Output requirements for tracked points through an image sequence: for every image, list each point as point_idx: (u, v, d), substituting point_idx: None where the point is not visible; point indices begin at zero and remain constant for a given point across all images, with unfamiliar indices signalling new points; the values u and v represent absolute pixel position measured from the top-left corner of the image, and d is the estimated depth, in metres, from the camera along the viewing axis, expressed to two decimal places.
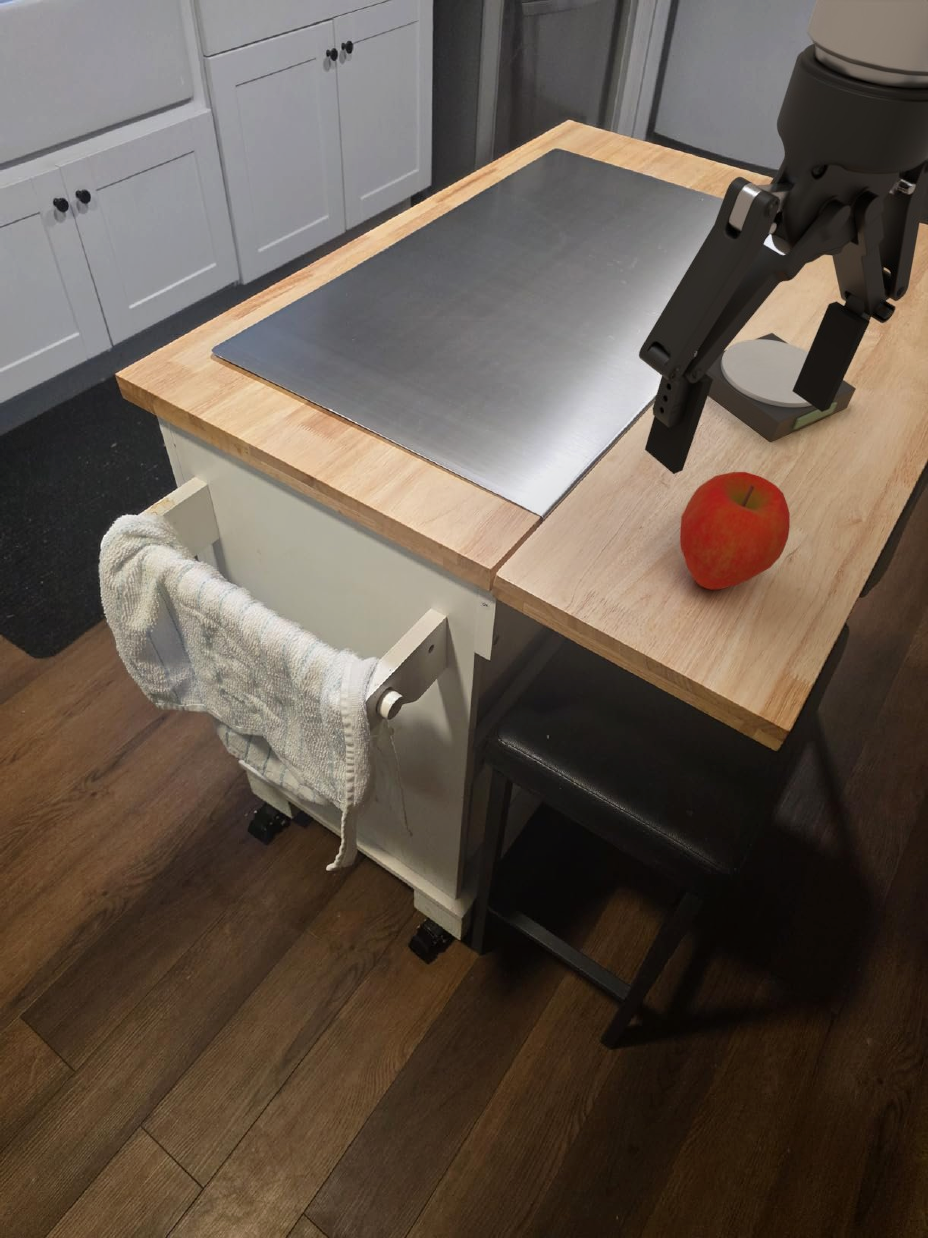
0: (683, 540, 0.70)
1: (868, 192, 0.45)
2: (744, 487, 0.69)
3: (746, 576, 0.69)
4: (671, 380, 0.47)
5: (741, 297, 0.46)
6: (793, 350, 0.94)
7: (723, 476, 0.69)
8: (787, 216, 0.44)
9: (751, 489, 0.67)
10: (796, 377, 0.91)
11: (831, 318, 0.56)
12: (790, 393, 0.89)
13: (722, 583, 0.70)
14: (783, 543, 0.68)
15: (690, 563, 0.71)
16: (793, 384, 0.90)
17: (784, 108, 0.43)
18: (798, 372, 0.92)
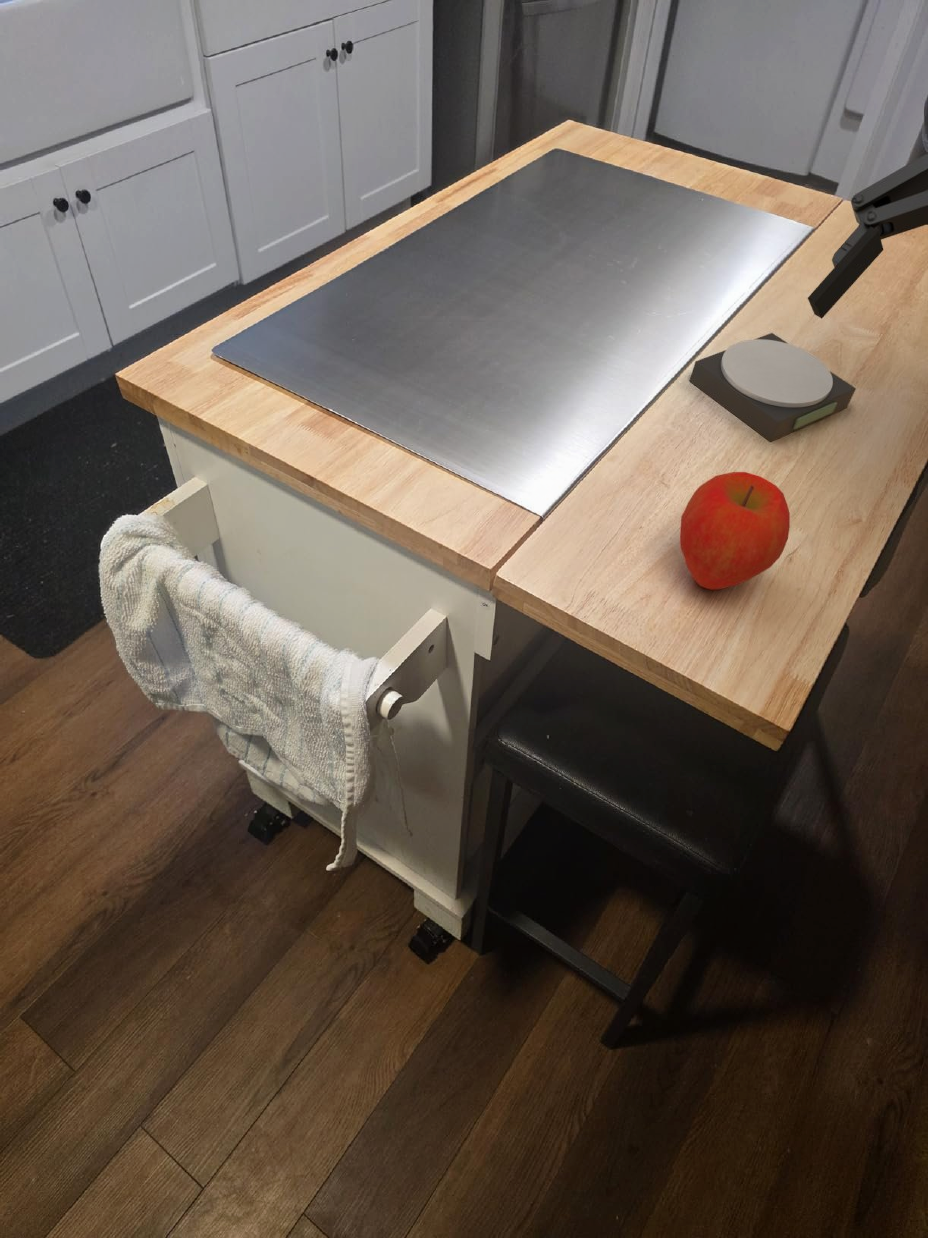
0: (683, 540, 0.70)
1: None
2: (744, 487, 0.69)
3: (746, 576, 0.69)
4: (852, 202, 0.67)
5: None
6: (793, 350, 0.94)
7: (723, 476, 0.69)
8: None
9: (751, 489, 0.67)
10: (796, 377, 0.91)
11: None
12: (790, 393, 0.89)
13: (722, 583, 0.70)
14: (783, 543, 0.68)
15: (690, 563, 0.71)
16: (793, 384, 0.90)
17: None
18: (798, 372, 0.92)
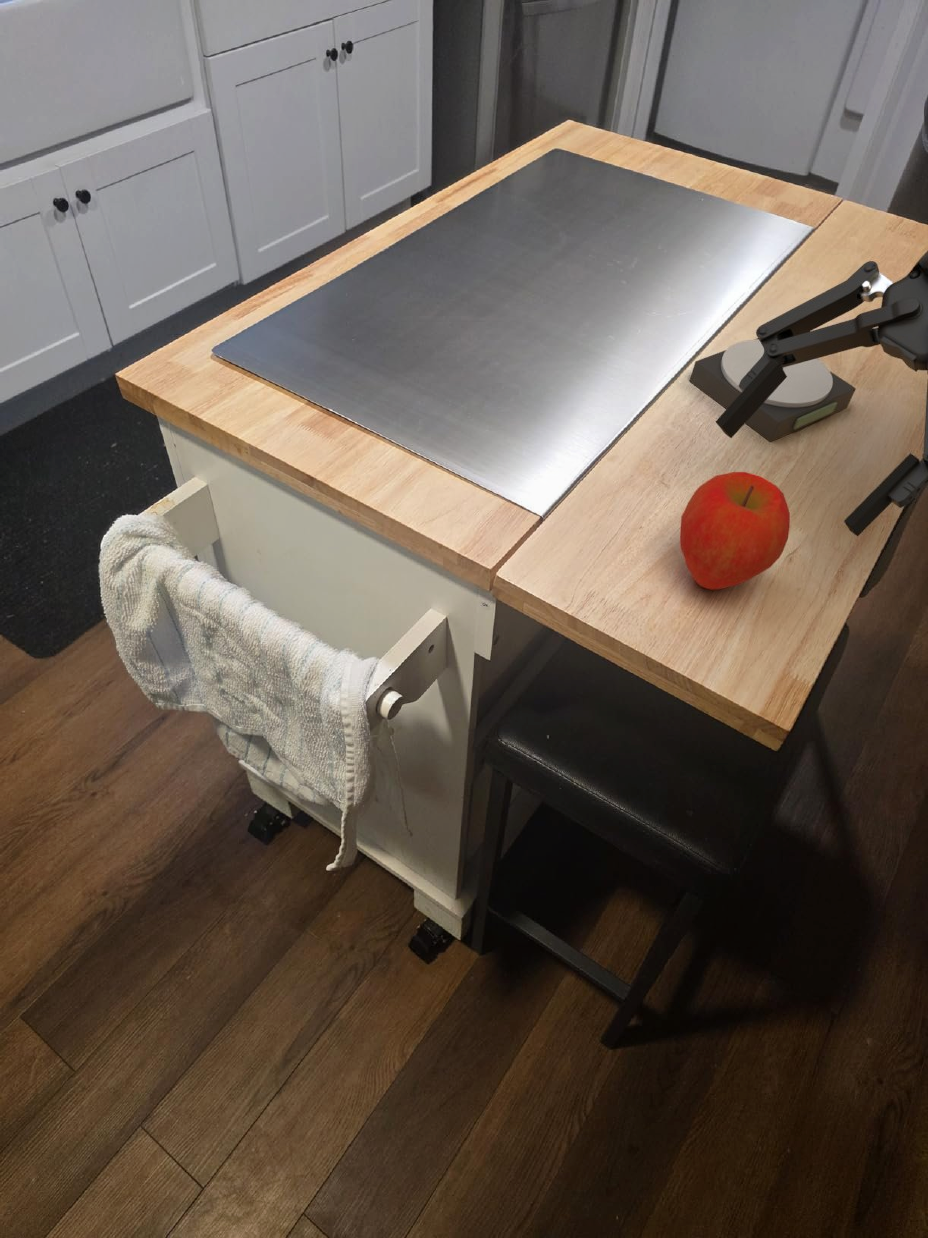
0: (683, 540, 0.70)
1: None
2: (744, 487, 0.69)
3: (746, 576, 0.69)
4: (757, 333, 0.71)
5: None
6: None
7: (723, 476, 0.69)
8: (883, 294, 0.67)
9: (751, 489, 0.67)
10: (796, 377, 0.91)
11: None
12: (790, 393, 0.89)
13: (722, 583, 0.70)
14: (783, 543, 0.68)
15: (690, 563, 0.71)
16: (793, 384, 0.90)
17: None
18: (798, 372, 0.92)
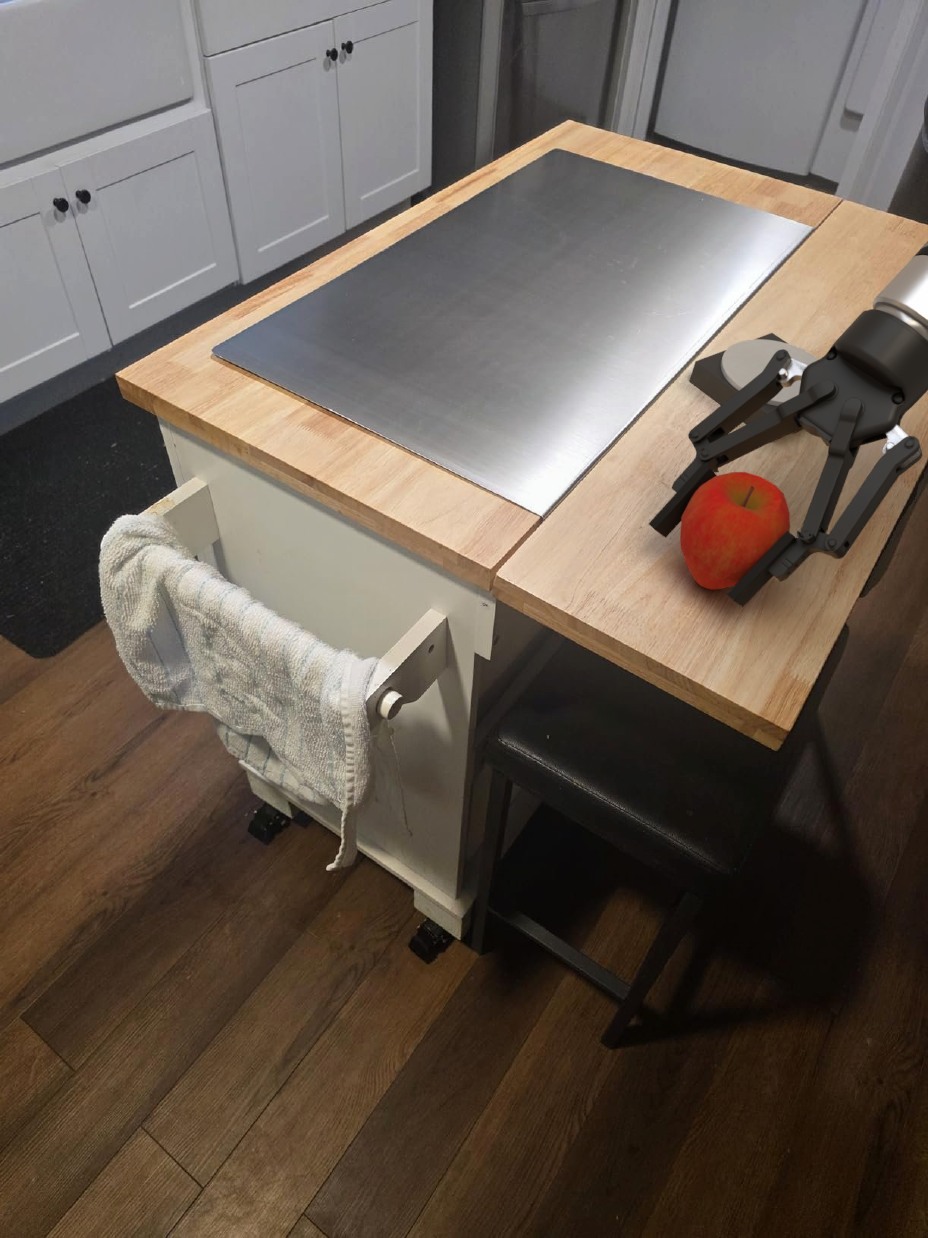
0: (683, 540, 0.70)
1: (859, 401, 0.65)
2: (744, 487, 0.69)
3: None
4: (689, 438, 0.72)
5: None
6: (793, 350, 0.94)
7: (723, 476, 0.69)
8: (802, 374, 0.68)
9: (751, 489, 0.67)
10: None
11: None
12: (790, 393, 0.89)
13: (722, 583, 0.70)
14: None
15: (690, 563, 0.71)
16: (793, 384, 0.90)
17: None
18: None
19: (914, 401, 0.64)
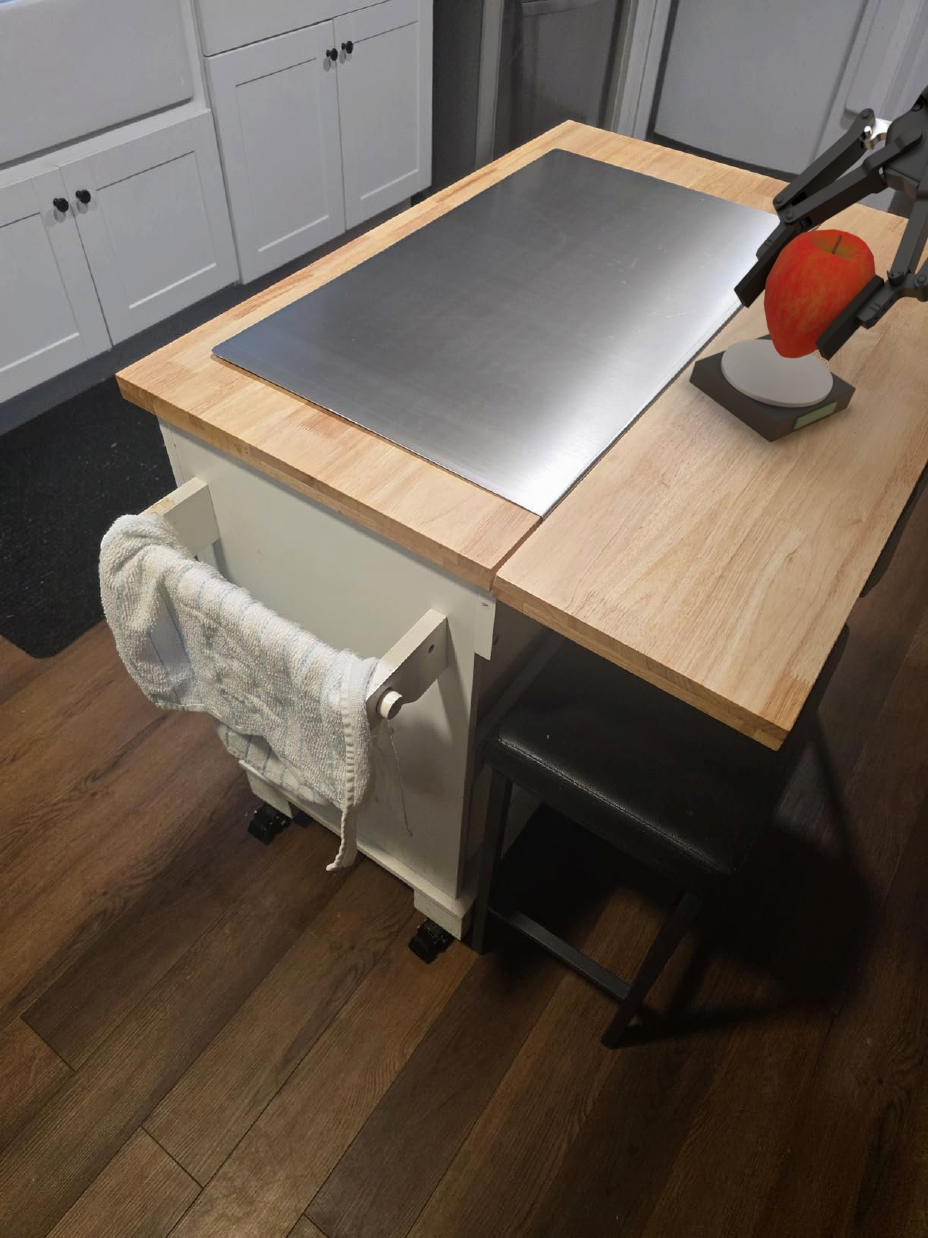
0: (770, 298, 0.72)
1: None
2: (831, 241, 0.71)
3: None
4: (774, 204, 0.74)
5: None
6: None
7: (810, 231, 0.71)
8: (887, 130, 0.70)
9: (839, 238, 0.69)
10: (796, 377, 0.91)
11: None
12: (790, 393, 0.89)
13: (807, 340, 0.72)
14: None
15: (776, 323, 0.73)
16: (793, 384, 0.90)
17: None
18: (798, 372, 0.92)
19: None
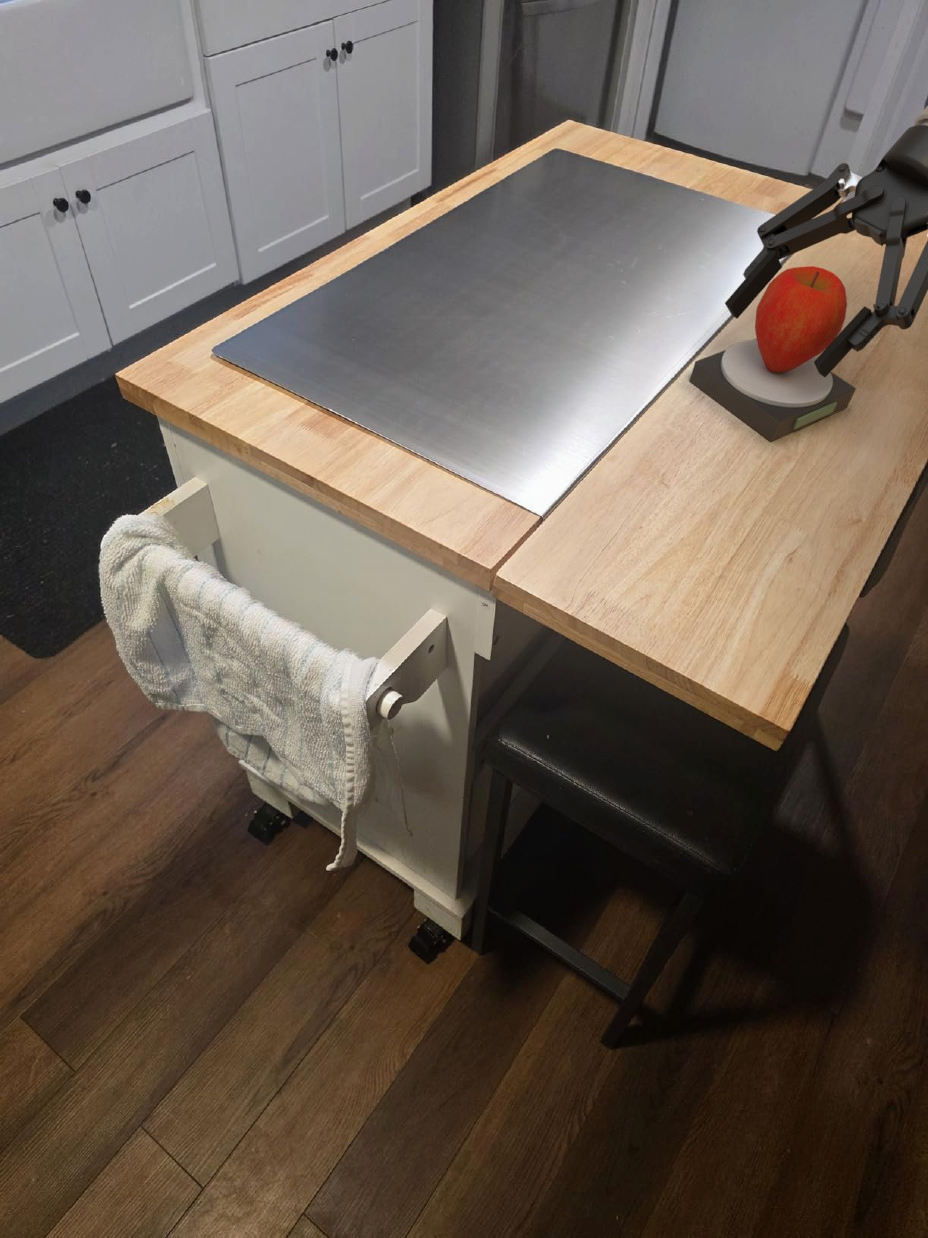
0: (760, 323, 0.87)
1: None
2: (810, 276, 0.85)
3: (811, 348, 0.85)
4: (758, 232, 0.89)
5: None
6: None
7: (793, 268, 0.85)
8: (856, 186, 0.85)
9: (817, 274, 0.84)
10: (796, 377, 0.91)
11: None
12: (790, 393, 0.89)
13: (791, 358, 0.87)
14: (842, 319, 0.84)
15: (765, 343, 0.87)
16: (793, 384, 0.90)
17: None
18: (798, 372, 0.92)
19: None
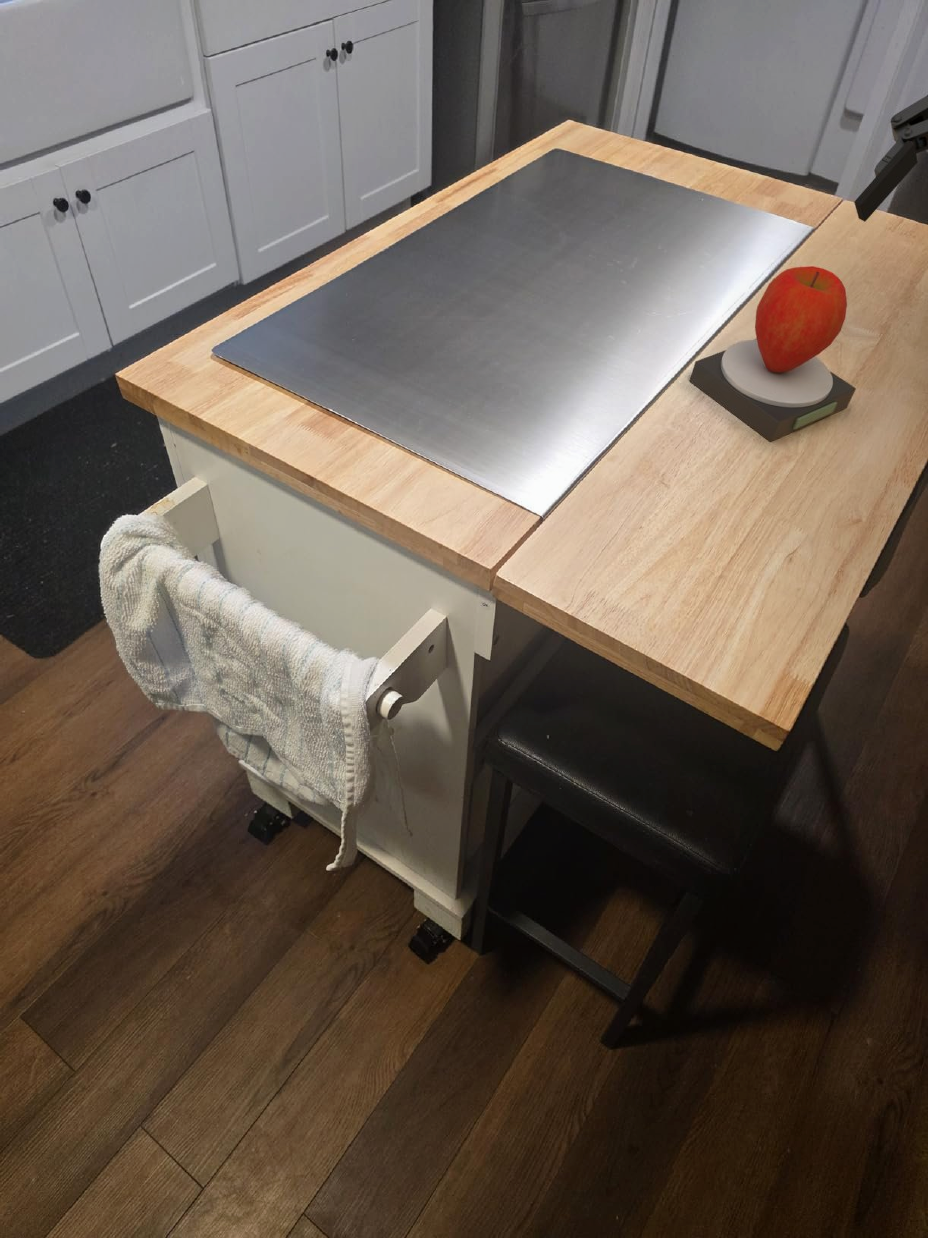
0: (760, 323, 0.87)
1: None
2: (810, 276, 0.85)
3: (811, 348, 0.85)
4: (891, 121, 0.80)
5: None
6: None
7: (793, 268, 0.85)
8: None
9: (817, 274, 0.84)
10: (796, 377, 0.91)
11: None
12: (790, 393, 0.89)
13: (791, 358, 0.87)
14: (842, 319, 0.84)
15: (765, 343, 0.87)
16: (793, 384, 0.90)
17: None
18: (798, 372, 0.92)
19: None
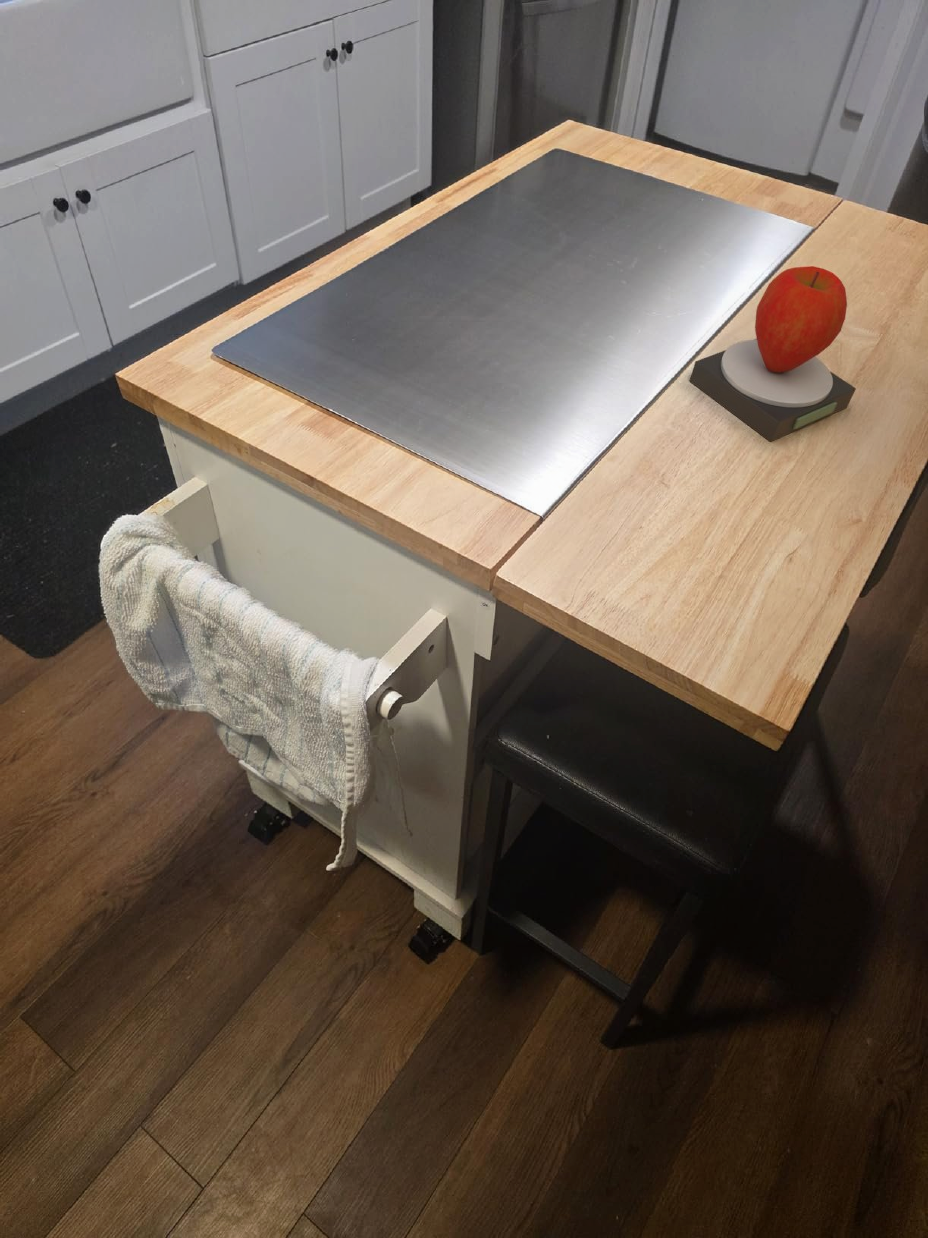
0: (760, 323, 0.87)
1: None
2: (810, 276, 0.85)
3: (811, 348, 0.85)
4: None
5: None
6: None
7: (793, 268, 0.85)
8: None
9: (817, 274, 0.84)
10: (796, 377, 0.91)
11: None
12: (790, 393, 0.89)
13: (791, 358, 0.87)
14: (842, 319, 0.84)
15: (765, 343, 0.87)
16: (793, 384, 0.90)
17: None
18: (798, 372, 0.92)
19: None
